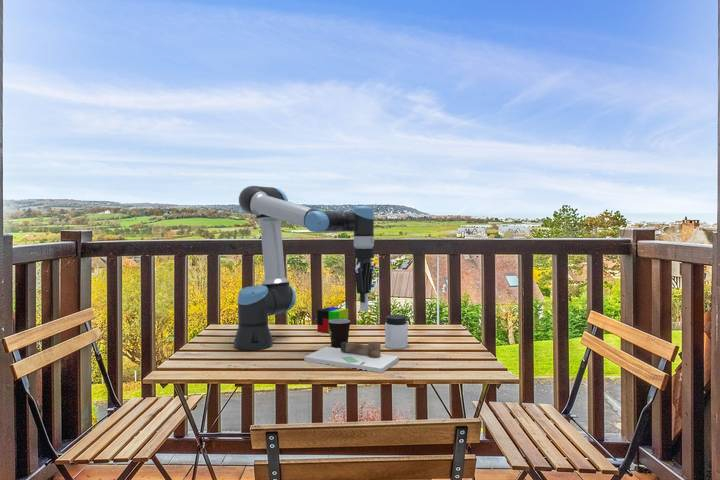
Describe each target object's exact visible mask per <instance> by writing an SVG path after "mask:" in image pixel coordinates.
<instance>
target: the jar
mask: <svg viewBox="0 0 720 480" xmlns="http://www.w3.org/2000/svg"><path fill="white" fill-rule="evenodd" d="M407 318H408V317H407V315H403V314H388V315H386V316H385V323H384V345H385V347H386V348H388V349H390V350H403V349H406V348H408V345H409V343H408V341H409V340H408V339H409V337H408V336H409V335H408V334H409V333H408V332H409V331H408V327H409V324H408V322H407V321H408V320H407Z"/></svg>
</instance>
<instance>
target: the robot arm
mask: <svg viewBox="0 0 720 480" xmlns="http://www.w3.org/2000/svg"><path fill="white" fill-rule="evenodd" d="M239 193H240V194H239V195H238V205H239V207H240V208H241V209H242V211H243V212H245V213H247V214H250V215H255V220H256V221H257V222H259V224H260V235H261V247H262V259H263V261H262V262H263V273H264V280H263V281H262V282H261V285H259V284H258V285H253V286H252V285H250V286H245V287H243V288H241V289H240V290H239V291H238V294H237V295H238V296H237V298H238V299H237V312H238V313H237V315H238V316H237V317H238V318H237V319H238V320H237V321H238V322H237V323H238V325H237V326H238V327H237V330H236V333H235V337H234V340H233V348H234V349H237V350H241V351H258V350H263V349H267V348H270V347H272V346H273V337H272V333H271V330H270V327H269V317H272V316H275V315H279V314H284V313H286V312H289V311H291V310H292V309H293V307H294V305H295V304H296V299H297V296H296V291H295V289H294V287H293V286H292V285H290V281H289V280H288V279H287V277H286V272H285V259H284V249H283V248H284V247H283V235H282V234H283V233H282V221H284V222H287V223H291V224H293V225H297V226H300V227H303V228H306V229H307V230H308V231H309V232H312V233H341V232H342V233H346V232H347V233H348V232H350V233H353V247H354V248H353V258H354V259H356V267H352V268H353V269H352V270H353V273H354V278H355V279H354V280H355V281H354V282H355V286H356V287H355V288H356V293H357V294H359V311H360V312H368V311H369V294H371V293H372V291H371V290H372V285H373V284H372V283H373V274H374V273H373V272H374V268H375V266H374V265H373V264H372V261H371V260H372V259H374V258H375V249H374V248H373V247H374V246H375V241H376V240H375V238H374V237H375V235H374V234H375V233H374V231H375V226H374V225H375V224H374V223H375V214H374V208H373V207H372V206H371V205H369V206H367V205H359V206H357V205H356V206H354V207H353V211H324V210H320V209H316V208H312V207H308V206H305V205H302V204H299V203H294V202H291V201H289V200H288V197H287V195H286V193H285V192H284V191H283V190H282V189H280V188H276V187H273V186H258V185H250V186H247V187H245V188H243V189H242V191H240V192H239Z"/></svg>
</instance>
